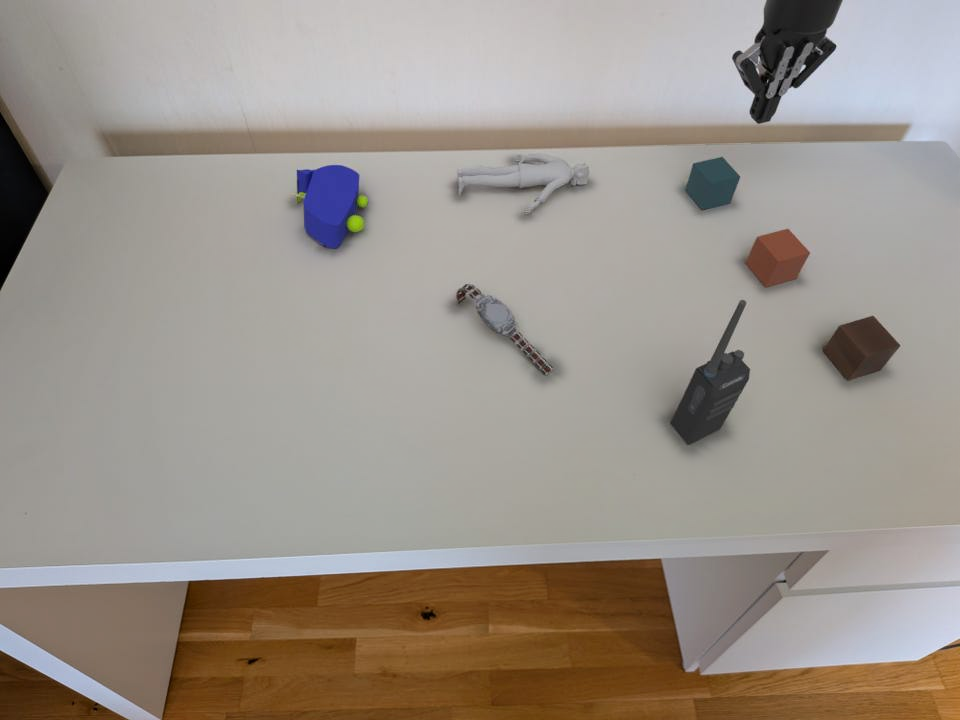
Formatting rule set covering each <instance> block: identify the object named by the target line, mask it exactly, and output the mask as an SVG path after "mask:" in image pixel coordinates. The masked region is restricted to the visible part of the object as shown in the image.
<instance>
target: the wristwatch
mask: <svg viewBox="0 0 960 720" xmlns="http://www.w3.org/2000/svg"><path fill="white" fill-rule="evenodd" d="M456 290H457V291H456V292H455V294H456V295H455V297H456V301H457V302H456V304H455V305H456V306H459V304H460V303H463V302H464V301H465V300H466V298H467V297H466V295H467V294H468V296H469V297H470V298H471V299H473V300H474V302H475V303H476V304H475V308H476V310H477V314H478V315H479V317H480V319H481V320H482V321H483V322H484V323H483V324H485V325H486V326H487V327H488V328H490V329H491V330H492V331H493V332H495V333H497V334H499V333H500V335H501V336H506V337H508V338H509V339H510V341H511V342H512V343H514V344H515V345H516V347H517V349H519V350H522V353H523V354H524V355H525V356H526V357H528V358H527V359H529V361H530V362H531V363H534V366H535V367H536V368H537V369H539V370H540V372H541V374H542V375H544V376H547V375H549V372H552V371H554V367H553V366H552V365H551V364H550V363H548V361H547V360H546V358H544V357H543V356H542V355H541V353H540V352H539V351H537V350H536V348H535V347H534V346H533V345H532V344H531V343H530V342H529V341H528V340H527V339H526V338H525V337H524V336H523V335H522V334H521V332H520V331H518V329H517V326H518V322H517V321H516V317H515V315H514V314H513V312H512V310H510V309H509V307H508V306H507V305H506V304H505V303H504V302H502V300H500V299H498V298H497V297H493V296H492V295H488V294H487V295H485V294H484V293H482V291H481V290H480V289H479V288H478V287H476V286H475V285H474V284H471V283H465V284H464V285H463V286H462V287H459V288H458V289H456ZM477 296H479V297H477Z"/></svg>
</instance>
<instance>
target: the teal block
mask: <svg viewBox="0 0 960 720" xmlns="http://www.w3.org/2000/svg"><path fill="white" fill-rule="evenodd" d="M690 169H691V170H690V173H689V176H688V179H687V183H686V185H685V188H684V190H685V192H686V193H687V195H688V196H689V197H690V198H691V199H692V201H693V202H694V203H695V204H696V206H697V207H698V208H699V209H700V210H701V211H706V210H709V209H713V208H717V207H721V206H725V205H730V204H731V203H732V200H733V197H734V195H735V192H736V190H737V187H738V184H739V181H740V179H741V175H740V174H739V173H738V172H737V171H736V170H735V169H734V168H733V166H732V165H730V163H729V162H728V161H727V160H726V158H725V157H724V156H720V157H714V158H709V159H706V160H702V161H698V162H694V163H692V166H691V168H690Z"/></svg>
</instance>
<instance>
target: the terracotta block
mask: <svg viewBox="0 0 960 720" xmlns="http://www.w3.org/2000/svg"><path fill="white" fill-rule="evenodd" d="M810 255H811V251H810V250H808V248H807V247H806V246H805V245H804V244H803V243H802V242H801V240H799V238H798V237H796V235H795V234H794V233H793V232H792V230H790V229H789V228H785V229H781V230H777V231H774V232H769V233H765V234H762V235H759V236H756V237H755V240H754V242H753V245H752V246H751V248H750V252H749V253H748V256H747V259H746V260H745V265H746V266H747V267H748V269H750V271H751V272H752V273H753V274H754V276H755V277H756V278H757V279H758V280H759V282H760V283H761V284H762V285H763V286H764V288H769V287H773V286H776V285H780V284H782V283H783V284H784V283H787V282H790V281H793V280H797V278H798V276H799V274H800V273H801V271H802V269H803V268H804V266H805V263H806V262H807V260H808V258H809V257H810Z"/></svg>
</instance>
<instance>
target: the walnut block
mask: <svg viewBox="0 0 960 720" xmlns="http://www.w3.org/2000/svg"><path fill="white" fill-rule="evenodd" d="M901 346H902V345H901V344H900V343H899V342H898V341H897V340H896V338H895V337H894V336H893V335H892V334H891V333H890V332H889V331H888V329H886V328H885V327H884V325H883V324H882V323H881V322H880V321H879V320H878V319H877V318H876V317H875V316H874V315H870V316H867V317H862V318H860V319H857V320H852V321H850V322H846V323H843V324H840V325H838V326H837V327H836V329H835V331H834V332H833V334H832V336H831V337H830V339H829V340H828V342H827V343H826V344H825V346H824V348H822V352H823V353H824V355H825V356H827V358H828V359H829V361H830V362H831V363H832V364H833V366H834V367H835V368H836V369H837V370H838V372H839V373H840V374H841V375H842V376H843V378H844V379H845V380H846V381H852V380H855V379H858V378H862V377H865V376H867V375H870V374H873V373H876V372H880V371H881V370H882V369H883V368H884V367H885V366H886V365H887V363H888V362H889V361H890V360H891V358H892V357H893V356H894V354H896V353H897V351H898V350H899V349H900V347H901Z"/></svg>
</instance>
